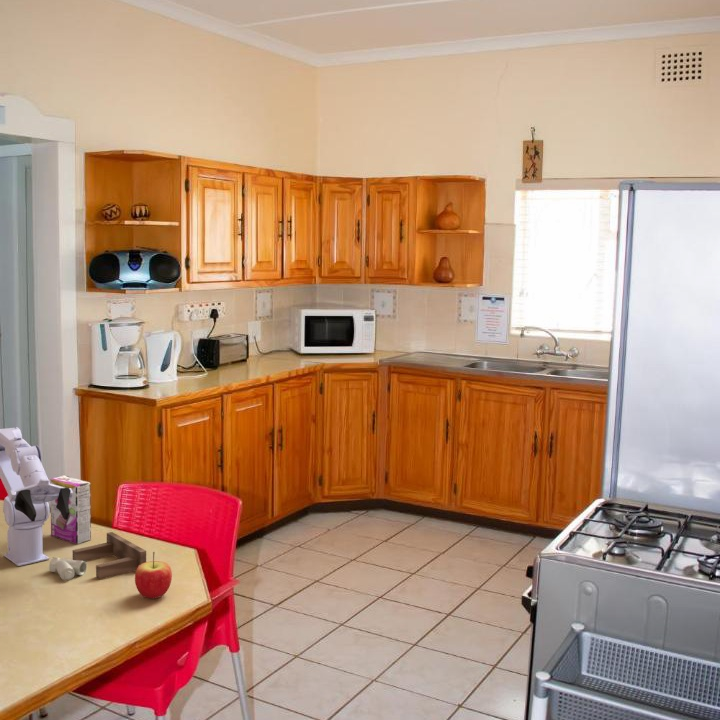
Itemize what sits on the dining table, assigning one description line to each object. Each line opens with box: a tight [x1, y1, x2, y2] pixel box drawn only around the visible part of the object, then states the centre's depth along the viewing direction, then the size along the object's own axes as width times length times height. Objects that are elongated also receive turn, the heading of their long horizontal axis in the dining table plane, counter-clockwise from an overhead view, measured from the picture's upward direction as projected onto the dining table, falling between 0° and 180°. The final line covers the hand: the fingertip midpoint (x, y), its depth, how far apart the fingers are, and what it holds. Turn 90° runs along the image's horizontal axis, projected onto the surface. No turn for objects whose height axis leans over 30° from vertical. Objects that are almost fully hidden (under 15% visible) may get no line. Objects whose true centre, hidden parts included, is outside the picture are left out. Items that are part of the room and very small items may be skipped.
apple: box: [134, 551, 173, 599], centre depth 195 cm, size 8×8×10 cm
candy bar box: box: [49, 475, 92, 545], centre depth 231 cm, size 11×5×16 cm, turn 58°
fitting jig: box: [71, 531, 147, 580], centre depth 214 cm, size 18×12×5 cm, turn 43°
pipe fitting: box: [48, 557, 87, 581], centre depth 206 cm, size 8×4×7 cm
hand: (50, 517), depth 197 cm, fingers open, 7 cm apart
